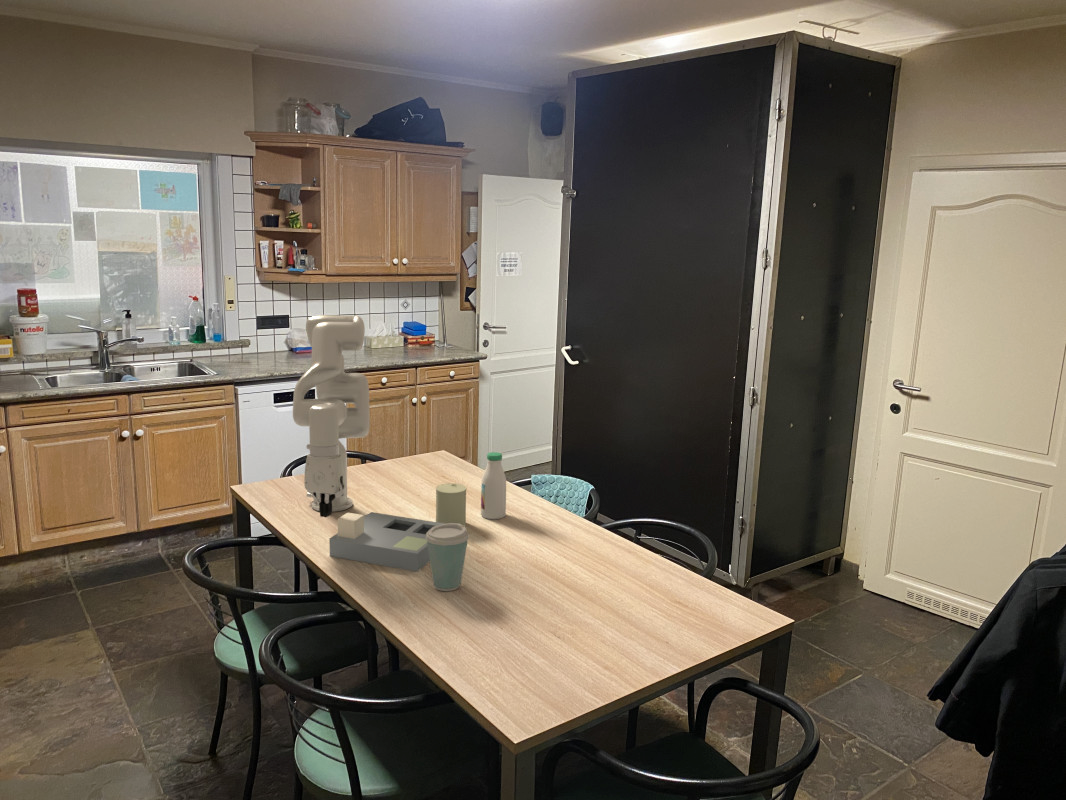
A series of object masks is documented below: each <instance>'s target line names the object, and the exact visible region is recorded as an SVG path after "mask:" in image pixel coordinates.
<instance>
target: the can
mask: <svg viewBox="0 0 1066 800" xmlns="http://www.w3.org/2000/svg"><path fill="white" fill-rule="evenodd" d="M466 501H467V486H466V485H464V484H460V483H455V482H454V483H453V482H448V483H447V482H446V483H441V484H439V485H437V486H436V487H435V522H438V523H444V524H447V523H459V524H461V525H464V526H465V527H466V526H467V520H466V519H467V502H466Z"/></svg>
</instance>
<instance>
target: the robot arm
mask: <svg viewBox="0 0 1066 800" xmlns="http://www.w3.org/2000/svg"><path fill="white" fill-rule="evenodd" d="M305 330H306V336H307V338H308V341H309V344H310V346H311V364H310V368H308V370H307V371H305V372H304V373H303V374H302V376H301V377H300V378H299V379H298V381H297V382H296V384H295V388H294V389H293V400H292V418H293V421H294V423H295V424H296V425H297V426H298V427H299V426H300V427H309V428H308V429H309V443H308V444H306V449H307V450H309V453H308V454H307V456H306V460H305V465H304V467H305V468H304V481H303V482H304V489H305V490H306V491H307V493H306V497H307V498H312V501H311V508H312V509H313V510H315V511H318V512H319V517H321V518H327V517H329V516H331V515H332V513H334V512H341V511H345V510H347V509H349V508H351V507H352V506H353V502H354V501H353V499H352V498H350V497H348V464H347V463H348V462H347V461H348V454H347V449H346V447H345V446H344V444H342V442H341V441H340V439H359V438H361V439H362V438H365V437H367V436H368V434H369V433H370V428H371V427H370V426H371V425H370V420H371V419H370V416H371V415H370V388H369V381H368V378H367V376H366V375H365V374H363V373H360V372H345V358H344V355H343V352H344V351H347V352H348V351H352V352H353V351H360V350H361V349H362V348H363V346H364V343H365V331H366V328H365V323H364V320H363V318H362V317H361V316H358V315H340V314H339V315H337V314H336V315H335V314H334V315H333V314H331V315H330V314H325V315H324V314H321V315H313V316H311V317H309V318H307V320H306V322H305ZM314 387H315V390H316V391H315V393H316V396H317V398H305V395H306V394H307V393H308V392H309V391H310V390H312V389H313V388H314ZM346 404H352V405H354V407H348V406H347V405H346Z"/></svg>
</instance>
